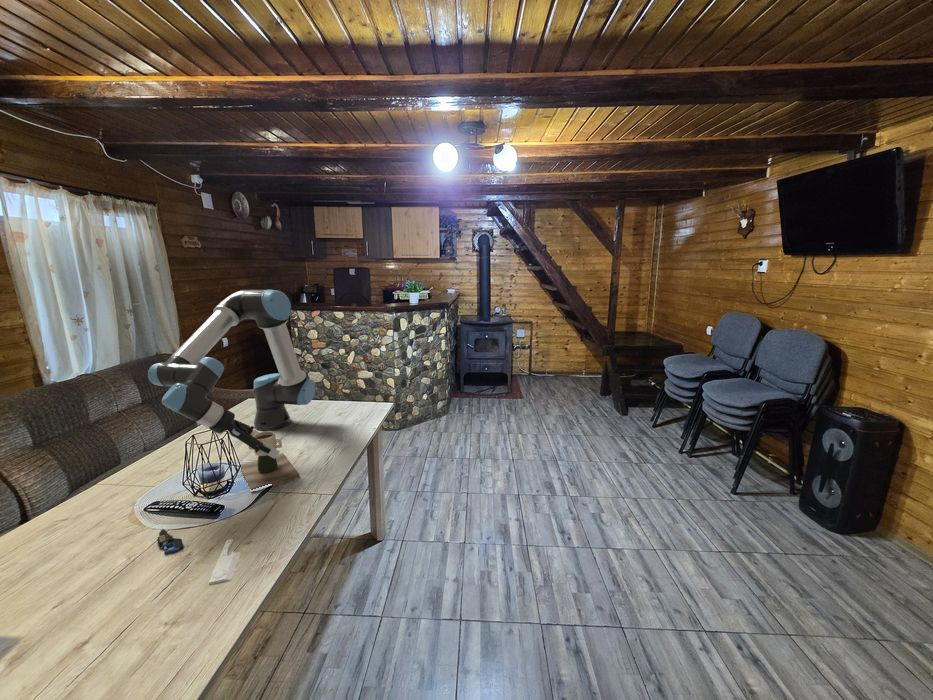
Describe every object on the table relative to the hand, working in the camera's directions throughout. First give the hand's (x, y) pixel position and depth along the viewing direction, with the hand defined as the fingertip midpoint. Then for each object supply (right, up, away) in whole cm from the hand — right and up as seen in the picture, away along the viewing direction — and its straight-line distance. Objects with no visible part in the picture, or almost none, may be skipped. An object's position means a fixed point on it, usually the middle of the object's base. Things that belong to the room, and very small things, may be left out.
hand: (271, 448), depth 140 cm
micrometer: (-11, -17, -34) cm, 39 cm away
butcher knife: (+9, -18, -40) cm, 45 cm away
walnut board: (-2, -9, +1) cm, 9 cm away
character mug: (-2, -8, 0) cm, 8 cm away
